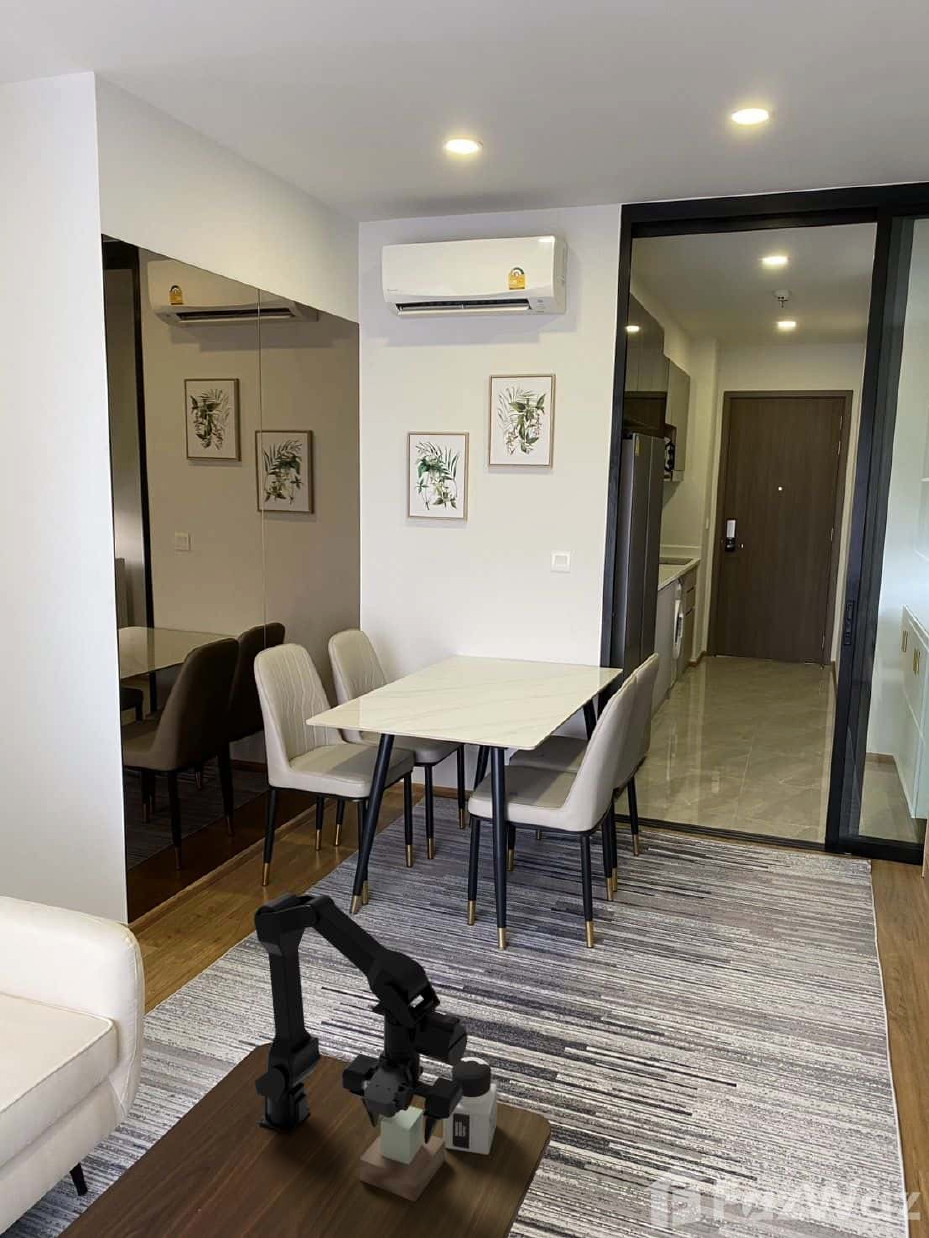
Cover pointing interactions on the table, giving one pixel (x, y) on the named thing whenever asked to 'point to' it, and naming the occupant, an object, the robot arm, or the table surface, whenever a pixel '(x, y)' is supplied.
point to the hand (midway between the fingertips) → (401, 1133)
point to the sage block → (402, 1135)
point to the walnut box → (402, 1168)
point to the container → (472, 1108)
